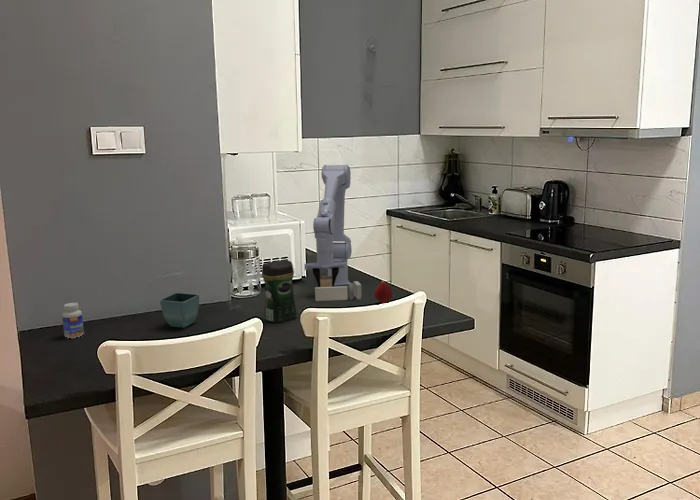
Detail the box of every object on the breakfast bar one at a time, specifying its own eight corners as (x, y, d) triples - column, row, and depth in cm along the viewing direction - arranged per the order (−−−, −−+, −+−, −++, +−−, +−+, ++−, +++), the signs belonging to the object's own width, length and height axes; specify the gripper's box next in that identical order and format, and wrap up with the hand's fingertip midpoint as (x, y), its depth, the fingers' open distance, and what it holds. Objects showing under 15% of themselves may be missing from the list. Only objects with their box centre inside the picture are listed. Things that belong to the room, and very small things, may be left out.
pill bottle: (72, 340, 191) (68, 308, 189) (60, 337, 194) (56, 305, 192) (88, 334, 196) (84, 303, 194) (76, 331, 199) (73, 300, 197)
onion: (392, 301, 221) (392, 278, 219) (392, 306, 215) (391, 282, 213) (375, 301, 221) (374, 278, 220) (374, 306, 216) (373, 282, 214)
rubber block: (320, 291, 233) (320, 276, 232) (332, 290, 233) (331, 275, 232) (320, 295, 227) (320, 280, 226) (332, 295, 227) (331, 279, 226)
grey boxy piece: (361, 299, 225) (361, 283, 224) (349, 300, 224) (348, 284, 223) (358, 295, 230) (357, 279, 229) (346, 296, 229) (345, 280, 228)
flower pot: (186, 330, 197) (183, 302, 195) (161, 328, 200) (158, 300, 198) (202, 322, 205) (200, 294, 203) (178, 319, 208) (175, 292, 206)
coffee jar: (287, 313, 211) (284, 256, 208) (300, 318, 205) (297, 260, 201) (260, 319, 206) (257, 261, 202) (273, 325, 199) (270, 265, 196)
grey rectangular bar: (347, 298, 226) (347, 285, 225) (347, 299, 224) (347, 287, 223) (315, 299, 226) (315, 286, 225) (315, 301, 224) (314, 288, 223)
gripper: (303, 254, 223) (305, 292, 226) (346, 252, 223) (347, 291, 226) (304, 250, 230) (305, 287, 232) (345, 248, 230) (346, 286, 233)
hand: (326, 289), depth 230 cm, fingers closed on rubber block, 4 cm apart
